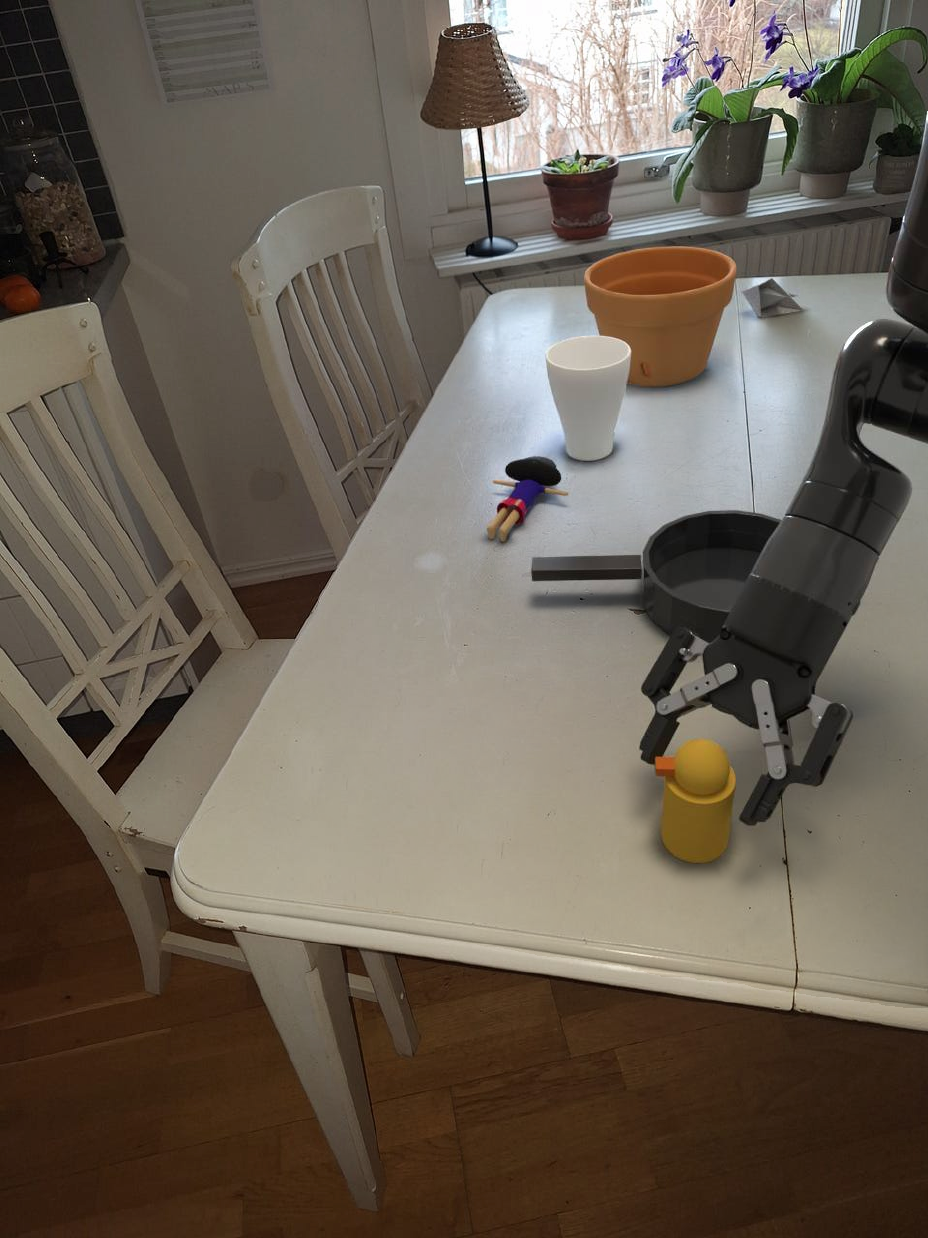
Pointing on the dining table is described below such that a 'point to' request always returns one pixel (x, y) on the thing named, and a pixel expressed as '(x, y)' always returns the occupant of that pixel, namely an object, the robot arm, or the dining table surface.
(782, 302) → the paper boat
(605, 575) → the pan handle
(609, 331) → the flower pot
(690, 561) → the pan
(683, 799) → the yellow duck figurine
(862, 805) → the dining table surface
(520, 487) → the toy
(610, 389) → the cup
